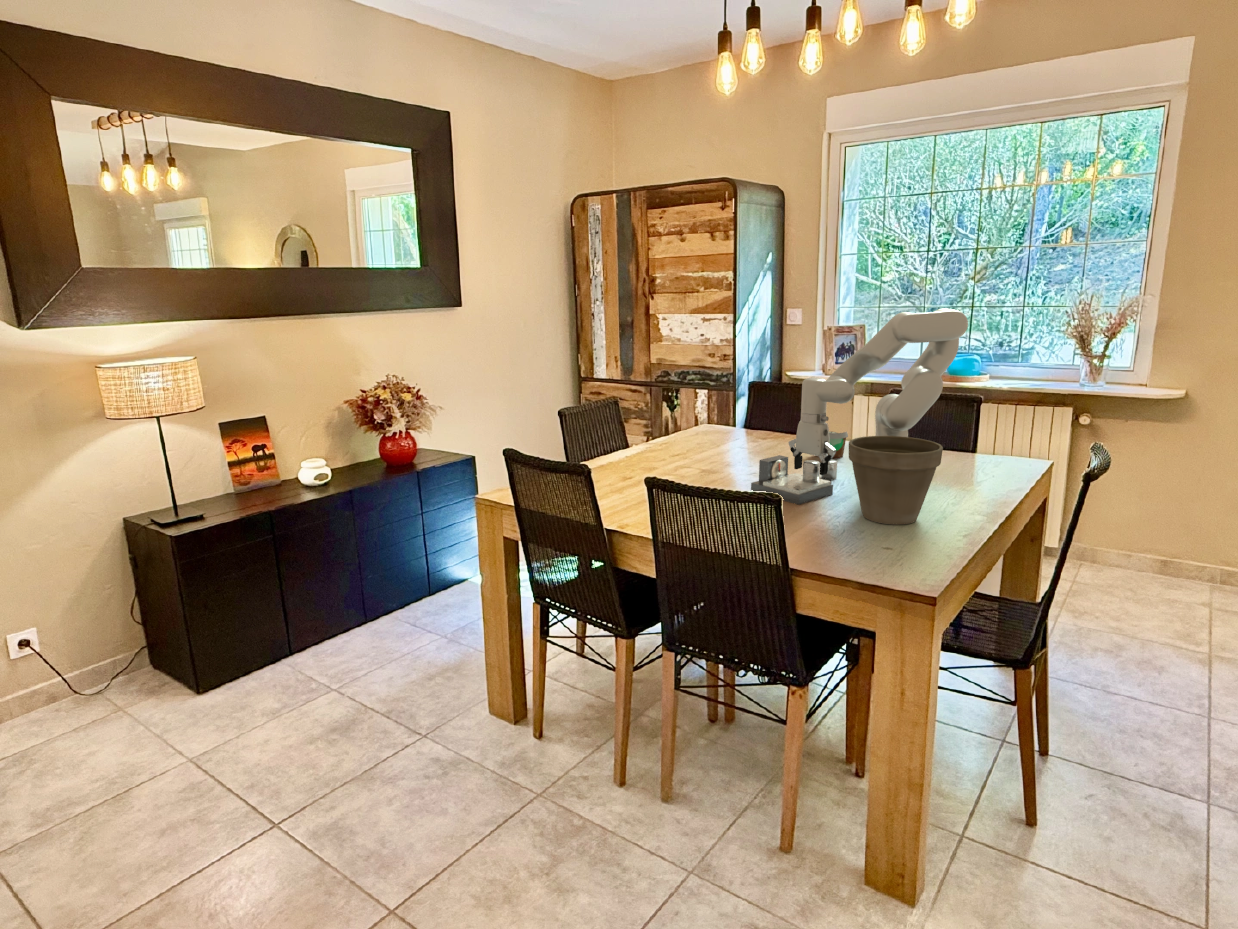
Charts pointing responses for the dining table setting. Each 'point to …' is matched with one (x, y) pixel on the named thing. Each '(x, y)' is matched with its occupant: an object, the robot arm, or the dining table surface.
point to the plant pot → (893, 475)
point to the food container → (838, 443)
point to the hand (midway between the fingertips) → (810, 471)
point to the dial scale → (788, 482)
